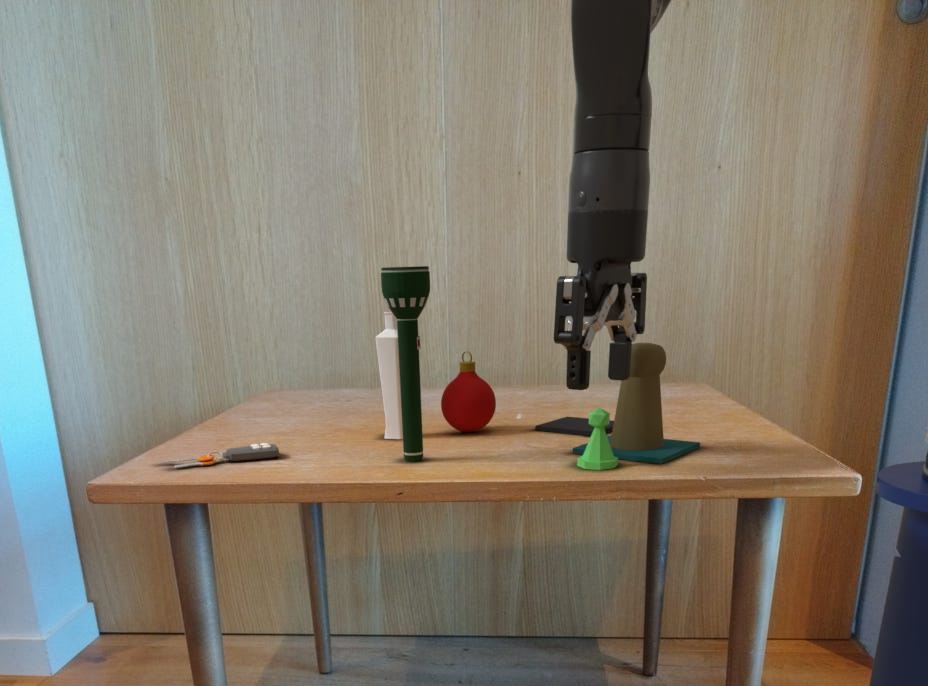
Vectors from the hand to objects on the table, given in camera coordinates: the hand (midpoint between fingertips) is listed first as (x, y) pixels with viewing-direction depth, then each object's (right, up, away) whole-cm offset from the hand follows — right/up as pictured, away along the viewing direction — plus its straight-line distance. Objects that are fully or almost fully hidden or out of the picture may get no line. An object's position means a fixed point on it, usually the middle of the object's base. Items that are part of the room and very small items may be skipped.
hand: (598, 384), depth 87 cm
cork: (+6, -4, +10) cm, 12 cm away
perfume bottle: (-22, 0, +22) cm, 31 cm away
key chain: (-42, -6, +11) cm, 44 cm away
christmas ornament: (-13, +1, +24) cm, 27 cm away
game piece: (0, -8, +3) cm, 9 cm away
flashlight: (-19, -6, +9) cm, 22 cm away
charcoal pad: (+2, +1, +23) cm, 23 cm away
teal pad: (+6, -5, +10) cm, 12 cm away
